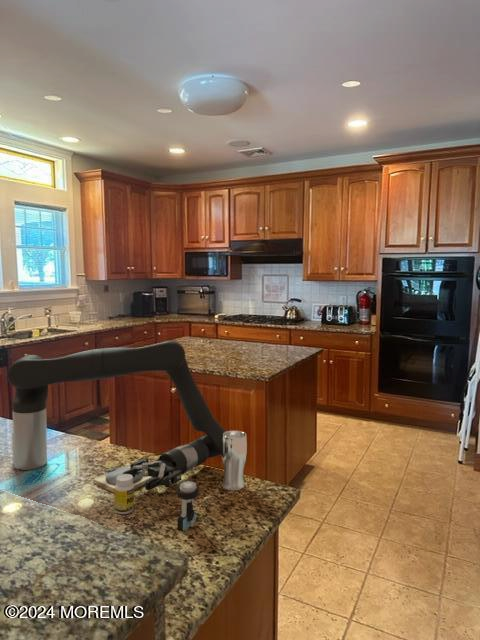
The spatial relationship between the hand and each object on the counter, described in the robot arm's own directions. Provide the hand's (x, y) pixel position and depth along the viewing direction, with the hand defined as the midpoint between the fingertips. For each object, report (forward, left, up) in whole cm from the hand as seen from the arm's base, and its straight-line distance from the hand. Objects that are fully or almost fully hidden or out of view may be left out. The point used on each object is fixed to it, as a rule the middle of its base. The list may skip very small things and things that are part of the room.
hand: (134, 481), depth 112 cm
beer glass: (+14, +24, -6) cm, 28 cm away
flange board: (-12, +7, -6) cm, 15 cm away
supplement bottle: (0, -3, -6) cm, 7 cm away
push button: (+17, +2, -6) cm, 18 cm away
